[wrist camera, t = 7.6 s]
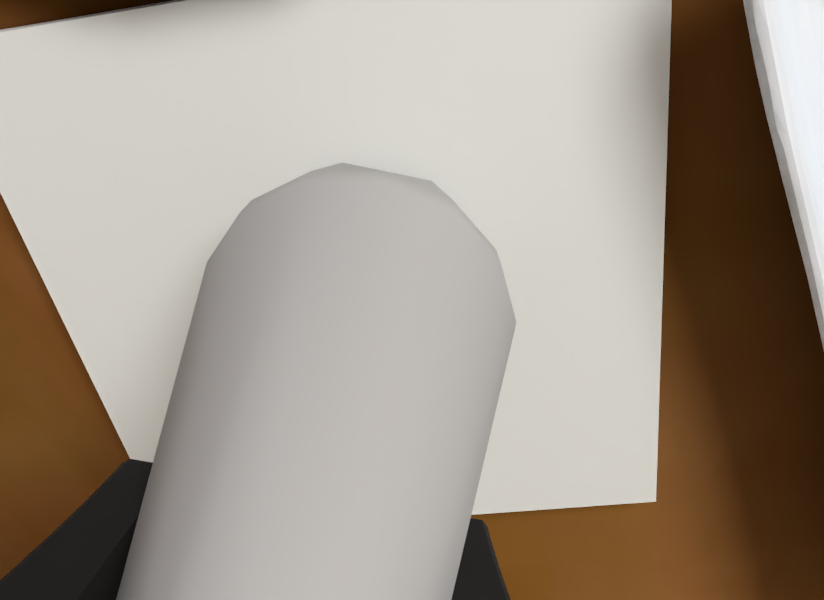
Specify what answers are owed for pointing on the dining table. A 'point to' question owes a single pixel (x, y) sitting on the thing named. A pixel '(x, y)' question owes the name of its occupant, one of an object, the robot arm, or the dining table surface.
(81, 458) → the dining table surface
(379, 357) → the salt shaker
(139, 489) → the robot arm
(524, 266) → the mat
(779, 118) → the salad plate
